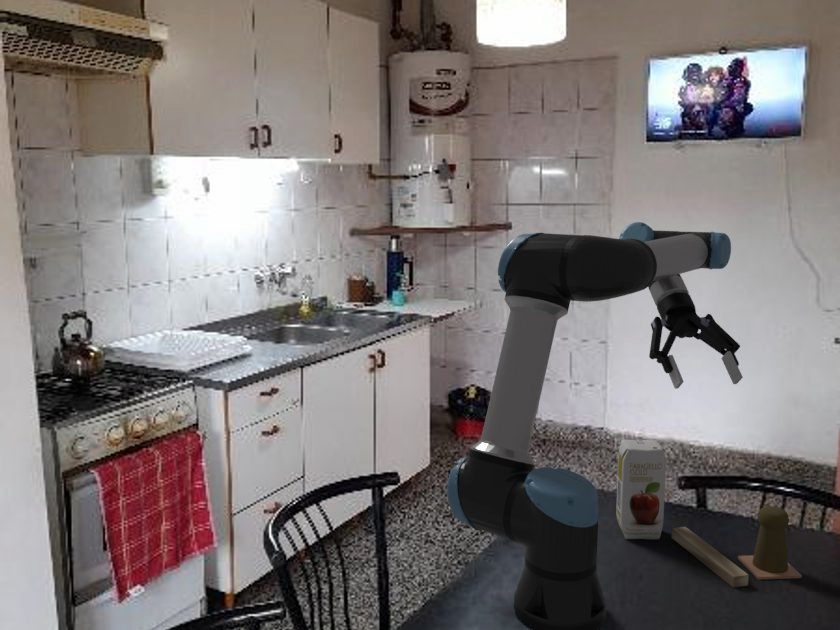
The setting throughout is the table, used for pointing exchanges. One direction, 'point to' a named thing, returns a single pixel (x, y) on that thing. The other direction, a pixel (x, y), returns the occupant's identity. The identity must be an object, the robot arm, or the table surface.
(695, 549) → the straightedge
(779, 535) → the olive domed peg
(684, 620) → the table surface
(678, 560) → the table surface
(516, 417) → the robot arm
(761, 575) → the end plate
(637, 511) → the juice carton
